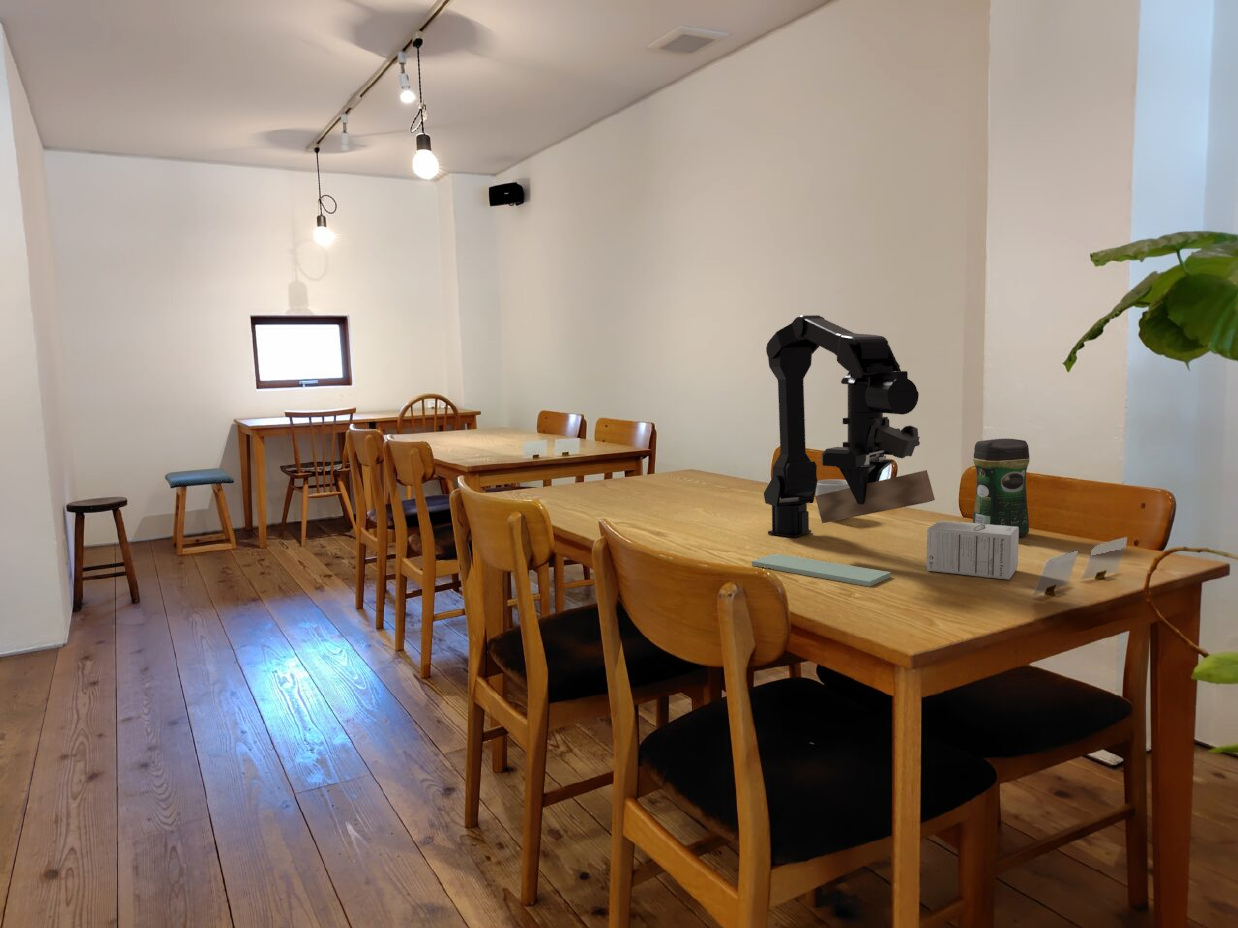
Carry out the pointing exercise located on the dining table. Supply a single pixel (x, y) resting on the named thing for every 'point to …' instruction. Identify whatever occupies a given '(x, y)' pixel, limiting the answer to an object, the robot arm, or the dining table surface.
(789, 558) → the tool mat
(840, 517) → the wooden plank
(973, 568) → the supplement box
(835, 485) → the cup
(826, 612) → the dining table surface
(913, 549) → the dining table surface
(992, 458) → the coffee jar
